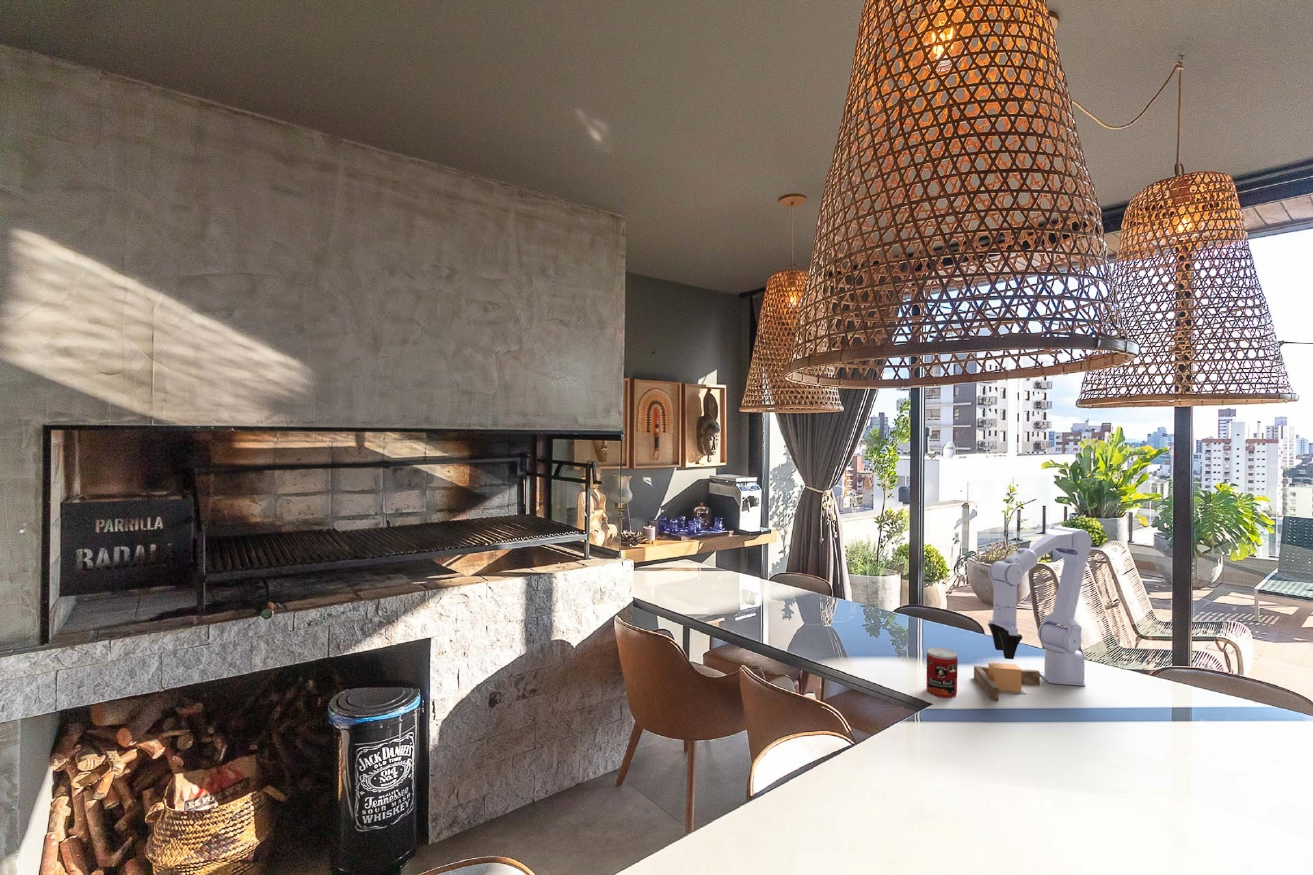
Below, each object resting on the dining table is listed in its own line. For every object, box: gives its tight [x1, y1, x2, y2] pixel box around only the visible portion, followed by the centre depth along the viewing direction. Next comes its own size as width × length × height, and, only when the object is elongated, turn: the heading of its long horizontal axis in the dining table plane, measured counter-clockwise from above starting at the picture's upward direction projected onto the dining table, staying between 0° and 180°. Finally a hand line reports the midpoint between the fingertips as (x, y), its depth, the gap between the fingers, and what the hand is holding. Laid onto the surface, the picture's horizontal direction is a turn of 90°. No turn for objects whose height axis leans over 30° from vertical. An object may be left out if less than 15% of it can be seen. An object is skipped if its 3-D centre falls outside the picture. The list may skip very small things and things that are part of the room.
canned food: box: [926, 647, 959, 699], centre depth 179 cm, size 8×8×11 cm
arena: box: [973, 665, 1041, 702], centre depth 181 cm, size 17×17×4 cm
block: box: [988, 662, 1022, 692], centre depth 183 cm, size 4×7×6 cm, turn 80°
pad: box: [999, 688, 1027, 695], centre depth 184 cm, size 9×8×1 cm
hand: (1004, 654), depth 183 cm, fingers open, 7 cm apart
